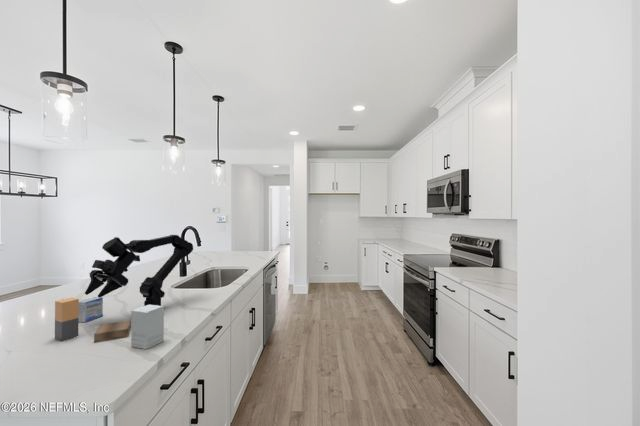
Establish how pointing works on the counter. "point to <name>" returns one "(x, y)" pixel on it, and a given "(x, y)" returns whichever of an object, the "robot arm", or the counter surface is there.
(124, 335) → the walnut stand
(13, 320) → the counter surface
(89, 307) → the medicine box
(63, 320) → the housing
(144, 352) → the counter surface
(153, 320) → the supplement box
